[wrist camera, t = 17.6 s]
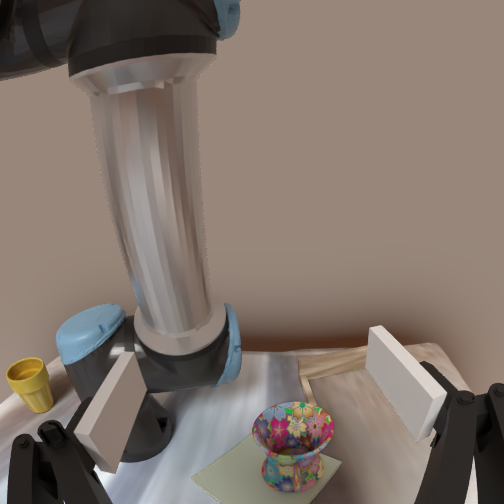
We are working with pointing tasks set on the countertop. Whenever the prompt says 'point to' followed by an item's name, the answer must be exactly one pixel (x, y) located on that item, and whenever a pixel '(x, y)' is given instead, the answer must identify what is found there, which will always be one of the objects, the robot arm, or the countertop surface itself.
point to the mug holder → (329, 367)
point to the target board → (253, 478)
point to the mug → (293, 444)
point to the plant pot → (31, 383)
